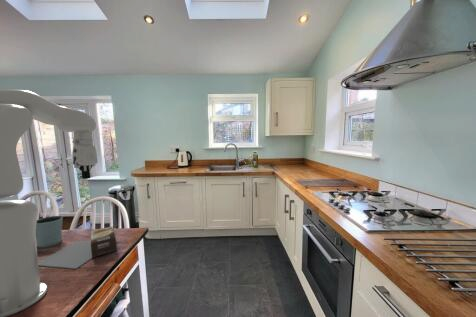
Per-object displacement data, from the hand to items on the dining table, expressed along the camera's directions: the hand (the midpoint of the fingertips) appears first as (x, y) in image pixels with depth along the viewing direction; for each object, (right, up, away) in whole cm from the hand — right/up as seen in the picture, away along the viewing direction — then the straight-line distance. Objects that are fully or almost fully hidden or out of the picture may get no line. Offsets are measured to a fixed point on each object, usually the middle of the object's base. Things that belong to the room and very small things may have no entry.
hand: (86, 178), depth 98 cm
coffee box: (+11, -28, -3) cm, 30 cm away
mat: (+7, -32, -14) cm, 36 cm away
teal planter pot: (-15, -32, -4) cm, 35 cm away
